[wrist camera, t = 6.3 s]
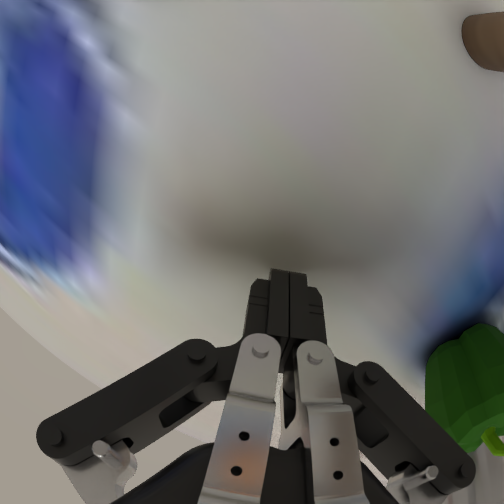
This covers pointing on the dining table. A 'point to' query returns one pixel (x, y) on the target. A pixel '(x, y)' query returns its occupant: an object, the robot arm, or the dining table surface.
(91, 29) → the dining table surface
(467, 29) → the post
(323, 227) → the dining table surface
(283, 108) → the dining table surface
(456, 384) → the bell pepper
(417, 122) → the dining table surface
